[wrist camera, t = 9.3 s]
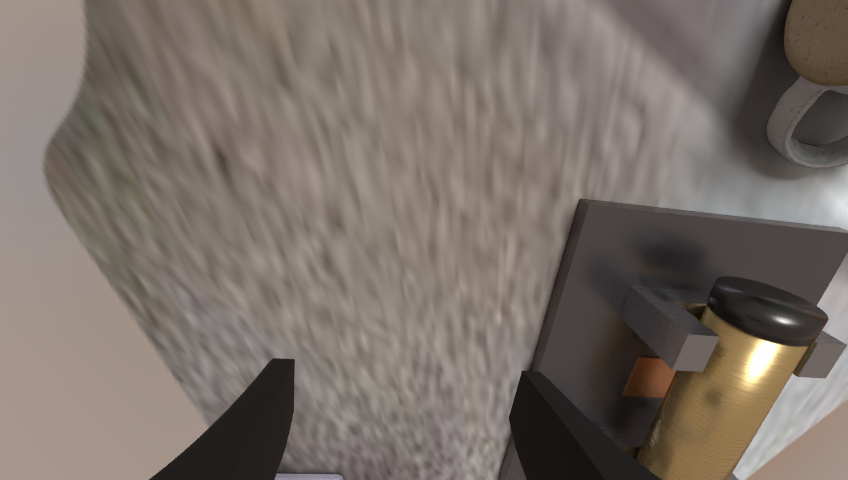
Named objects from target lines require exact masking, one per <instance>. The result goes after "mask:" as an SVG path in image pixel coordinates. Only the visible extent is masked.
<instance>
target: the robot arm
mask: <svg viewBox="0 0 848 480" xmlns="http://www.w3.org/2000/svg"><path fill="white" fill-rule="evenodd" d="M294 362H295V359H277V358H274V359H272V360H271V361H270V362H269V363H268V364H267V365H266V367H265V368H264V369H263V370H262V372H261V373H260V374H259V375H258V376H257V378H256V379H255V380H254V381H253V382H252V383H251V385H250V386H249V387H248V388H247V389H246V390H245V391H244V393H243V394H242V395H241V396H240V397H239V398H238V399H237V400H236V401H235V402H234V403H233V404H232V405H231V407H230V408H229V409H228V410H227V411H226V412H225V413H224V414H223V415H222V416H221V417H220V418H219V419H218V420H217V421H216V422H215V423H214V424H213V425H212V426H211V427H210V428H209V429H208V430H207V431H205V432H204V433H203V434H202V435H201V436H200V437H199V438H198V439H197V440H196V441H195V442H194V443H193V444H191V445H190V446H189V447H188V448H187V449H186V450H185V451H184V452H182V453H181V454H180V455H179V456H178V457H177V458H175V459H174V460H173V461H172V462H171V463H169V464H168V465H167V466H166V467H165V468H163V469H162V470H161V471H160V472H158V473H157V474H156V475H154V476H153V477H152V478H151V479H149V480H343V477H342V476H341V475H338V474H279V473H277V471H278V468H279V465H280V462H281V459H282V456H283V453H284V450H285V447H286V443H287V439H288V435H289V431H290V426H291V421H292V417H293V412H294ZM509 421H510V426H511V431H512V435H513V440H514V444H515V448H516V451H517V454H518V457H519V460H520V463H521V466H522V469H523V471H524V474H525V477H526V480H661V479H660V478H659V477H657V476H656V475H655V474H653V473H652V472H651V471H649V470H648V469H647V468H646V467H644V466H643V465H642V464H640V463H639V462H638V461H637V460H635V459H634V458H633V457H631V456H630V455H629V454H628V453H627V452H625V451H624V450H623V449H622V448H621V447H619V446H618V445H617V444H616V443H615V442H614V441H613V440H611V439H610V438H609V437H608V436H607V435H606V434H605V433H603V432H602V431H601V430H600V429H599V428H598V427H597V426H596V425H595V424H594V423H593V422H592V421H590V420H589V419H588V418H587V417H586V416H585V415H584V414H583V413H582V412H581V411H580V410H579V409H578V408H577V407H576V406H575V405H574V404H573V403H572V402H571V401H570V400H569V399H568V398H567V397H566V396H565V395H564V394H563V393H562V392H561V391H560V390H559V389H558V388H557V387H556V386H555V385H554V384H553V383H552V382H551V381H550V380H549V379H548V378H546V377H545V376H544V375H543V374H542V373H541V372H539V371H522V373H521V377H520V380H519V384H518V388H517V391H516V395H515V398H514V402H513V405H512V409H511V412H510V416H509Z"/></svg>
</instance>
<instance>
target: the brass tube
mask: <svg viewBox="0 0 848 480" xmlns="http://www.w3.org/2000/svg"><path fill="white" fill-rule="evenodd" d="M706 304H707V306H706V308H705V310H704V312H703V314H702V317H701V319H700V321H701V322H702V323H703V324H705V325H706V326H707V327H708V328H710V329H711V330H712V331H714V332H715V333H716V334H717V335H719V336H720V338H719V340H718V342H717V344H716V346H715V348H714V350H713V352H712V354H711V356H710V358H709V360H708V362H707V364H706V366H705V368H704V370H703V372H697V371H678V370H676V373H675V375H674V377H673V379H672V381H671V383H670V385H669V388H668V390H667V392H666V394H665V396H664V398H663V401H662V403H661V405H660V407H659V409H658V411H657V413H656V416H655V418H654V420H653V422H652V424H651V426H650V428H649V431H648V433H647V435H646V437H645V439H644V441H643V444H642V446H641V448H640V450H639V452H638V454H637V456H636V459H635V460H637V461H638V462H639V463H640V464H642V465H643V466H644V467H646V468H647V469H648V470H649V471H651V472H652V473H653V474H655V475H656V476H657V477H659V478H660V479H661V480H728V479H729V477H730V476H731V474H732V472H733V471H734V469H735V467H736V466H737V464H738V462H739V461H740V459H741V458H742V456H743V454H744V453H745V451H746V449H747V448H748V446H749V444H750V443H751V441H752V439H753V438H754V436H755V434H756V433H757V431H758V429H759V428H760V426H761V424H762V423H763V421H764V419H765V418H766V416H767V414H768V413H769V411H770V409H771V408H772V406H773V404H774V403H775V401H776V399H777V398H778V396H779V394H780V393H781V391H782V390H783V388H784V386H785V385H786V383H787V381H788V380H789V378H790V376H791V375H792V373H793V371H794V370H795V368H796V366H797V365H798V363H799V361H800V360H801V358H802V356H803V355H804V353H805V351H806V350H807V348H808V346H811V345H813V344H814V343H815V341H816V339H817V338H818V336H819V334H820V333H821V331H822V329H823V328H824V326H825V324H826V323H827V321H828V316H827V315H826V313H825V312H824V311H822V310H821V309H820V308H819V307H817V306H816V305H814V304H812V303H810V302H809V301H807V300H805V299H803V298H801V297H799V296H797V295H794V294H792V293H790V292H787V291H785V290H782V289H780V288H777V287H774V286H771V285H768V284H765V283H761V282H758V281H754V280H750V279H745V278H740V277H732V276H722V277H718V278H717V279H716V281H715V283H714V285H713V287H712V289H711V291H710V294H709V296H708V298H707V300H706Z"/></svg>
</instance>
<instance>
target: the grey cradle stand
mask: <svg viewBox="0 0 848 480" xmlns="http://www.w3.org/2000/svg"><path fill="white" fill-rule="evenodd" d="M847 253H848V231H847V230H844V229H841V228H837V227H828V226H819V225H810V224H801V223H792V222H783V221H774V220H765V219H757V218H748V217H739V216H730V215H721V214H712V213H703V212H694V211H685V210H676V209H668V208H659V207H650V206H641V205H632V204H623V203H614V202H605V201H596V200H587V199H580V201H579V205H578V208H577V211H576V215H575V218H574V222H573V225H572V229H571V232H570V235H569V239H568V242H567V246H566V249H565V252H564V256H563V259H562V263H561V266H560V270H559V273H558V276H557V280H556V283H555V287H554V290H553V293H552V297H551V300H550V304H549V307H548V311H547V314H546V317H545V321H544V324H543V328H542V331H541V334H540V338H539V341H538V345H537V348H536V352H535V355H534V358H533V362H532V365H531V369H530V371H539V372H541V373H542V374H543V375H544V376H545V377H546V378H548V379H549V380H550V381H551V382H552V383H553V384H554V385H555V386H556V387H557V388H558V389H559V390H560V391H561V392H562V393H563V394H564V395H565V396H566V397H567V398H568V399H569V400H570V401H571V402H572V403H573V404H574V405H575V406H576V407H577V408H578V409H579V410H580V411H581V412H582V413H583V414H584V415H585V416H586V417H587V418H588V419H589V420H590V421H592V422H593V423H594V424H595V425H596V426H597V427H598V428H599V429H600V430H601V431H602V432H603V433H605V434H606V435H607V436H608V437H609V438H610V439H611V440H613V441H614V442H615V443H616V444H617V445H618V446H619V447H621V448H622V449H623V450H624V451H625V452H627V453H628V454H629V455H630V456H631V457H633V458H634V459H636V456H637V454H638V452H639V450H640V448H641V446H642V444H643V441H644V439H645V437H646V435H647V433H648V431H649V428H650V426H651V424H652V422H653V420H654V418H655V416H656V413H657V411H658V409H659V407H660V405H661V403H662V401H663V398H664V396H665V394H666V392H667V390H668V388H669V385H670V383H671V381H672V379H673V377H674V375H675V373H676V370H678V371H697V372H703V370H704V368H705V366H706V364H707V362H708V360H709V358H710V356H711V354H712V352H713V350H714V348H715V346H716V344H717V342H718V340H719V338H720V336H719V335H717V334H716V333H715V332H714V331H712V330H711V329H710V328H708V327H707V326H706V325H705V324H703V323H702V322H701V321H700V319H701V317H702V314H703V312H704V310H705V308H706V306H707V304H706V300H707V298H708V296H709V294H710V291H711V289H712V287H713V285H714V283H715V281H716V279H717V278H718V277H722V276H732V277H740V278H745V279H750V280H754V281H758V282H761V283H765V284H768V285H771V286H774V287H777V288H780V289H782V290H785V291H787V292H790V293H792V294H794V295H797V296H799V297H801V298H803V299H805V300H807V301H809V302H810V303H812V304H814V305H816V306H817V304H818V302H819V301H820V299H821V297H822V295H823V294H824V292H825V290H826V289H827V287H828V285H829V283H830V282H831V280H832V278H833V277H834V275H835V273H836V271H837V270H838V268H839V266H840V265H841V263H842V261H843V260H844V258H845V256H846V254H847ZM846 346H847V345H846V344H844V343H843V342H841V341H839V340H838V339H836V338H834V337H832V336H831V335H829V334H827V333H825V332H824V331H821V333H820V334H819V336H818V338H817V339H816V341H815V343H814V344H813V345H811V346H808V348H807V350H806V351H805V353H804V355H803V356H802V358H801V360H800V361H799V363H798V365H797V366H796V368H795V370H794V371H793V374H795V375H796V376H797V377H811V378H826V377H827V375H828V374H829V372H830V371H831V369H832V368H833V366H834V364H835V363H836V361H837V360H838V358H839V357H840V355H841V354H842V352H843V351H844V349H845V347H846ZM499 480H526V477H525V474H524V471H523V469H522V466H521V463H520V460H519V457H518V454H517V451H516V448H515V444H514V440H513V435H512V434H511V437H510V440H509V444H508V447H507V451H506V454H505V458H504V461H503V464H502V468H501V471H500V475H499ZM728 480H738V479H737V478H736V477H735V475H734V474H733V473H732V474H731V476H730V477H729V479H728Z"/></svg>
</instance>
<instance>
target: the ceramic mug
mask: <svg viewBox="0 0 848 480" xmlns="http://www.w3.org/2000/svg"><path fill="white" fill-rule="evenodd" d="M784 49H785V53H786V57H787V59H788V61H789V63H790V65H791V66H792V68H793V69H794V70H795V71H796V73H798V74H799V78H798V79H797V80H796V81H795V83H794V84H793V85H792V86H790V87H789V88H788V89H787V91H786V92H785V93H784V94H783V95H782V96H781V98H780V99H779V101H778V103H777V105H776V107H775V109H774V110H773V112H772V115H771V117H770V118H769V120H768V124H767V137H768V140H769V142H770V143H771V145H772V146H773V147H774V148H775V149H776V150H777V151H778V152H779V153H780V154H782V155H783V156H784V157H785V158H786V159H787V160H789V161H790V162H792V163H794V164H797V165H800V166H804V167H809V168H818V169H819V168H831V167H836V166H841V165H844V164H848V136H846V137H844V138H842V139H840V140H837V141H834V142H832V143H830V144H827V145H819V146H812V145H808V144H803V143H799V142H798V140H797V138H795V137H793V136H792V134H793V131H794V129H795V127H796V125H797V124H798V122H799V121H800V120H801V119H802V117H803V115H804V114H805V113H806V111H807V110H808V109H809V108H810V107H811V106H812V105H813V104H814V103H815V102H816V100H817V99H818V98H819V97H820V96H821V95H822V94H823V93H824V92H825V91H828V90H832V91H835V92H838V93H842V94H846V95H848V0H792V3H791V5H790V8H789V11H788V14H787V19H786V23H785V32H784Z"/></svg>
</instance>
